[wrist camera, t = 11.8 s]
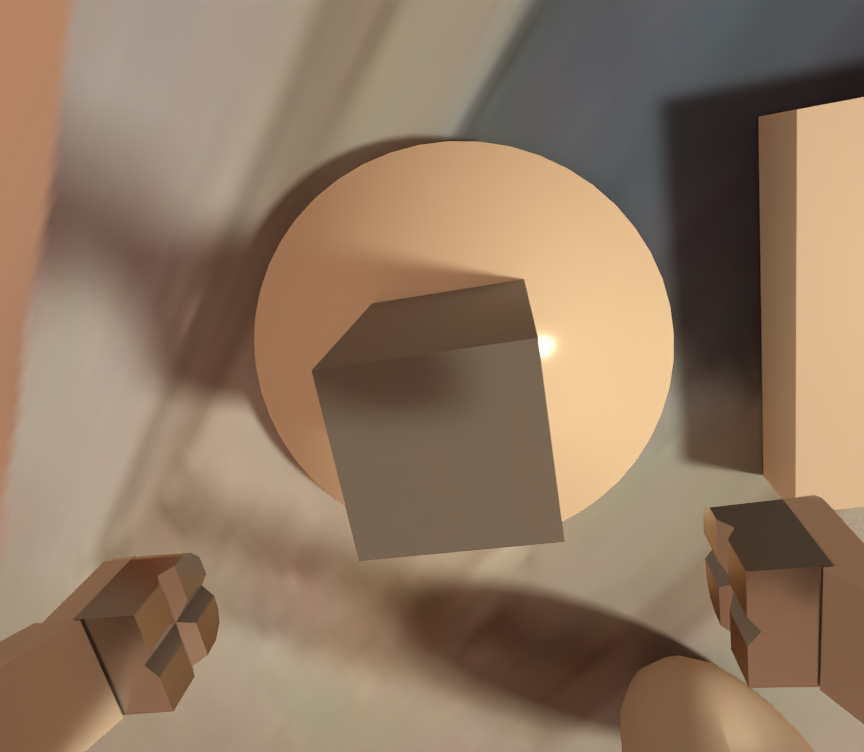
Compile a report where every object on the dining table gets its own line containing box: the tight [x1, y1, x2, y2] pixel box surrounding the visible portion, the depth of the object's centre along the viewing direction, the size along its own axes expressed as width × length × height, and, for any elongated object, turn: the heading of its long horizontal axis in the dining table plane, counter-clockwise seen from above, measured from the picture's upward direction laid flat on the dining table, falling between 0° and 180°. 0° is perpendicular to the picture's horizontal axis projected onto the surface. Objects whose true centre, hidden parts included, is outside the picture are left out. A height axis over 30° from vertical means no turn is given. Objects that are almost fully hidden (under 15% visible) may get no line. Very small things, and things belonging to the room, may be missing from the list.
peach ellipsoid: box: [254, 141, 674, 521], centre depth 21 cm, size 14×14×1 cm
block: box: [311, 279, 564, 561], centre depth 17 cm, size 5×5×7 cm
